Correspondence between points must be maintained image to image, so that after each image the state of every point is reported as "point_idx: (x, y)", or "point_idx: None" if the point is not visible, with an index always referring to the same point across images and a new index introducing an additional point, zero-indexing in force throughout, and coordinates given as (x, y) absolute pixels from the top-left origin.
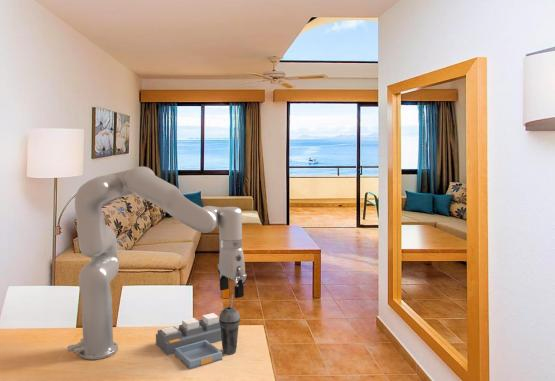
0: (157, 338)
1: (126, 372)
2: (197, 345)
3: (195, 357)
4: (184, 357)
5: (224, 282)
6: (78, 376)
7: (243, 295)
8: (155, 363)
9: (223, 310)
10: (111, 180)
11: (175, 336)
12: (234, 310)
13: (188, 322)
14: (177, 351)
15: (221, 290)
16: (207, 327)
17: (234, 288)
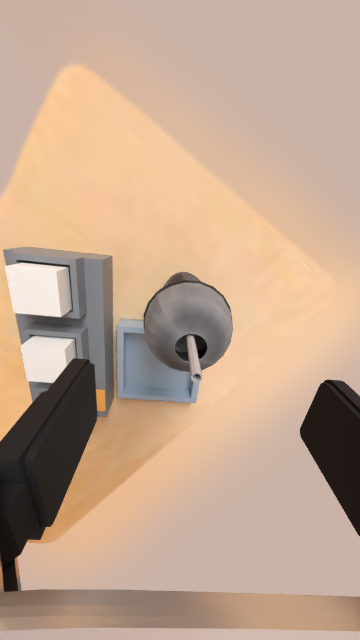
0: None
1: (132, 459)
2: (124, 348)
3: (163, 368)
4: (168, 400)
5: (66, 458)
6: (103, 499)
7: (344, 384)
8: (131, 422)
9: (176, 367)
10: None
11: None
12: (218, 335)
13: (55, 376)
14: (132, 397)
15: (94, 413)
16: (81, 315)
17: (354, 522)
